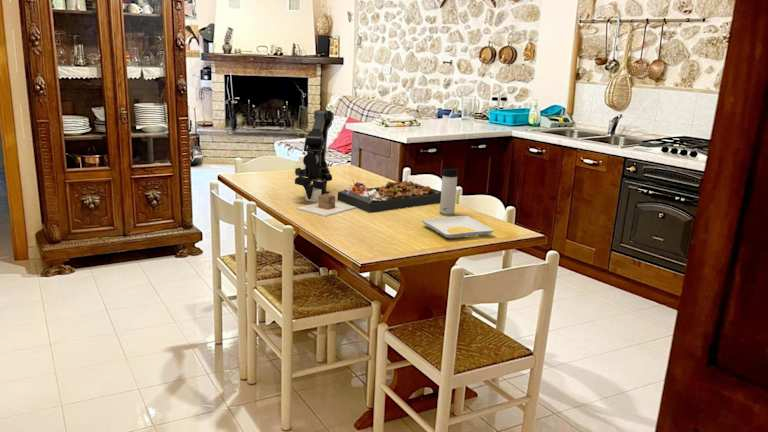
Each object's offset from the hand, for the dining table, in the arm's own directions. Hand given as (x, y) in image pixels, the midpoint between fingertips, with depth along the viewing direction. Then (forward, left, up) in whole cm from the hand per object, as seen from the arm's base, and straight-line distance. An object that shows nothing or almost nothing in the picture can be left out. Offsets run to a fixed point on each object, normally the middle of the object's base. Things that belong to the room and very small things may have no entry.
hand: (313, 197), depth 278 cm
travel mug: (-24, +55, -1) cm, 60 cm away
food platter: (-26, +25, -2) cm, 37 cm away
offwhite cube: (0, 0, -1) cm, 1 cm away
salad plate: (-4, +71, -2) cm, 71 cm away
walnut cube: (+7, +14, 0) cm, 16 cm away
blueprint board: (+7, +14, -1) cm, 16 cm away
